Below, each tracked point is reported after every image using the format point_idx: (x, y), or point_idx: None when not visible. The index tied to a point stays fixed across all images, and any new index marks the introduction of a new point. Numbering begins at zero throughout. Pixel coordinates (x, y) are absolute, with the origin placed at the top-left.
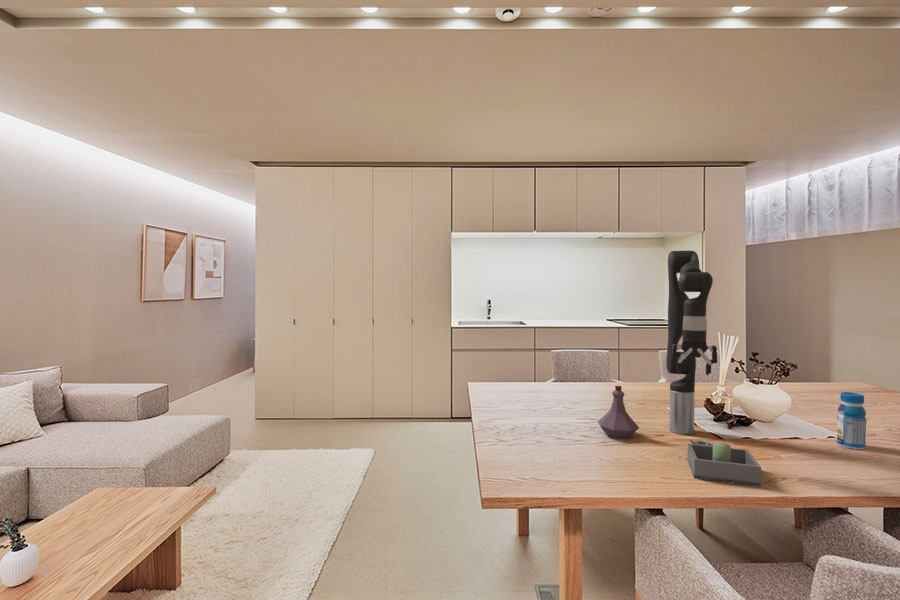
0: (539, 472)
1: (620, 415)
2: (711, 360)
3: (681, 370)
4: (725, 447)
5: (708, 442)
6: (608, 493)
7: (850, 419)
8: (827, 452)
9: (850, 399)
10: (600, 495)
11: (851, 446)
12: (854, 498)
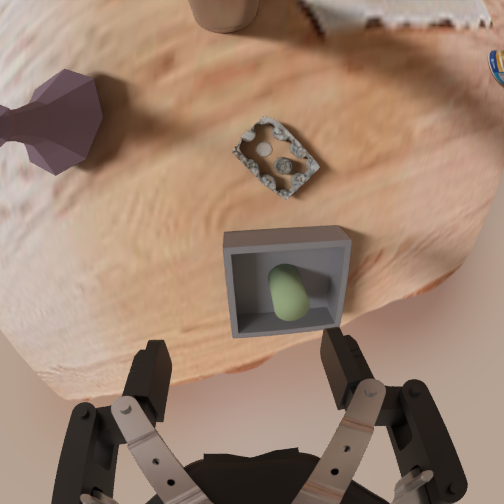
0: (55, 353)
1: (45, 145)
2: (379, 425)
3: (167, 382)
4: (297, 315)
5: (282, 129)
6: None
7: None
8: (473, 98)
9: None
10: None
11: (498, 80)
12: (425, 291)
